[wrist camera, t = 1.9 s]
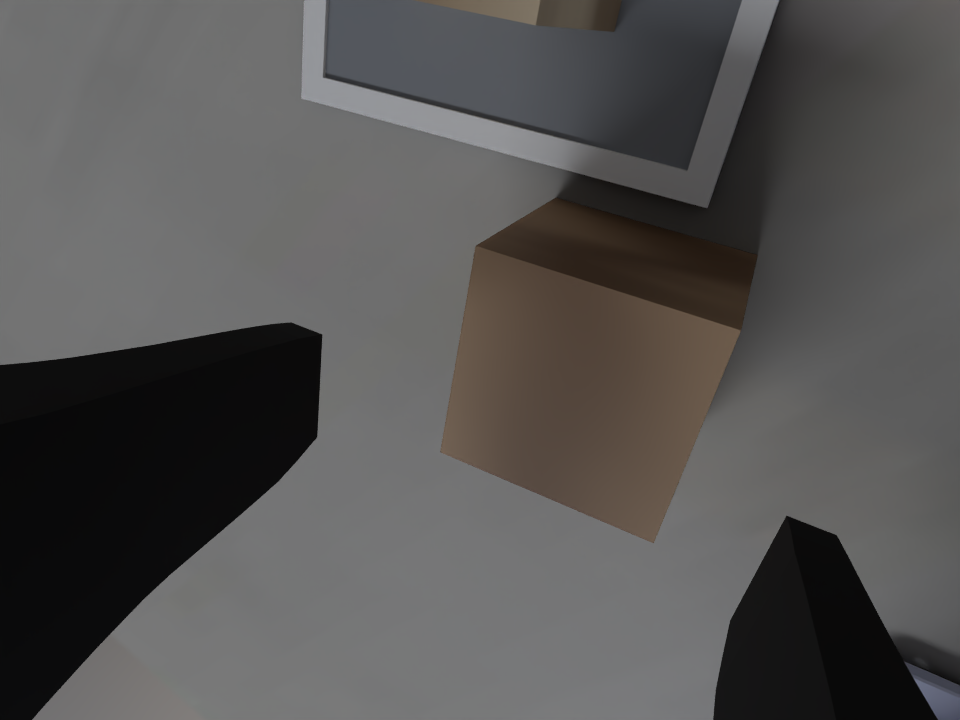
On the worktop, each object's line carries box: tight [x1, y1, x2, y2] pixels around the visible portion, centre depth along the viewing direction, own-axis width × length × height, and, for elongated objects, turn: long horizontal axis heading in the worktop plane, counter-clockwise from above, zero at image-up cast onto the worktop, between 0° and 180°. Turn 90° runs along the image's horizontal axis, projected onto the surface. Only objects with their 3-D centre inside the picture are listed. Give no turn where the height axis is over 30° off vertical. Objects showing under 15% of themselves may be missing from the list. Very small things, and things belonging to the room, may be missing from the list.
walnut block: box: [440, 198, 757, 543], centre depth 14 cm, size 4×4×4 cm
